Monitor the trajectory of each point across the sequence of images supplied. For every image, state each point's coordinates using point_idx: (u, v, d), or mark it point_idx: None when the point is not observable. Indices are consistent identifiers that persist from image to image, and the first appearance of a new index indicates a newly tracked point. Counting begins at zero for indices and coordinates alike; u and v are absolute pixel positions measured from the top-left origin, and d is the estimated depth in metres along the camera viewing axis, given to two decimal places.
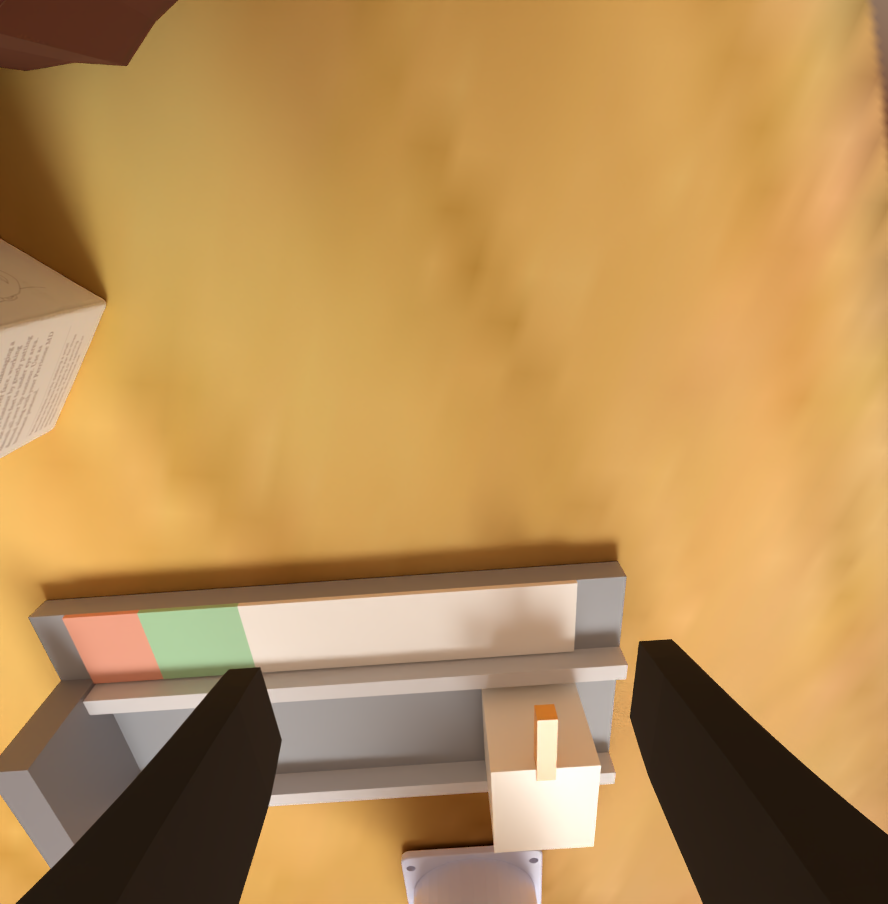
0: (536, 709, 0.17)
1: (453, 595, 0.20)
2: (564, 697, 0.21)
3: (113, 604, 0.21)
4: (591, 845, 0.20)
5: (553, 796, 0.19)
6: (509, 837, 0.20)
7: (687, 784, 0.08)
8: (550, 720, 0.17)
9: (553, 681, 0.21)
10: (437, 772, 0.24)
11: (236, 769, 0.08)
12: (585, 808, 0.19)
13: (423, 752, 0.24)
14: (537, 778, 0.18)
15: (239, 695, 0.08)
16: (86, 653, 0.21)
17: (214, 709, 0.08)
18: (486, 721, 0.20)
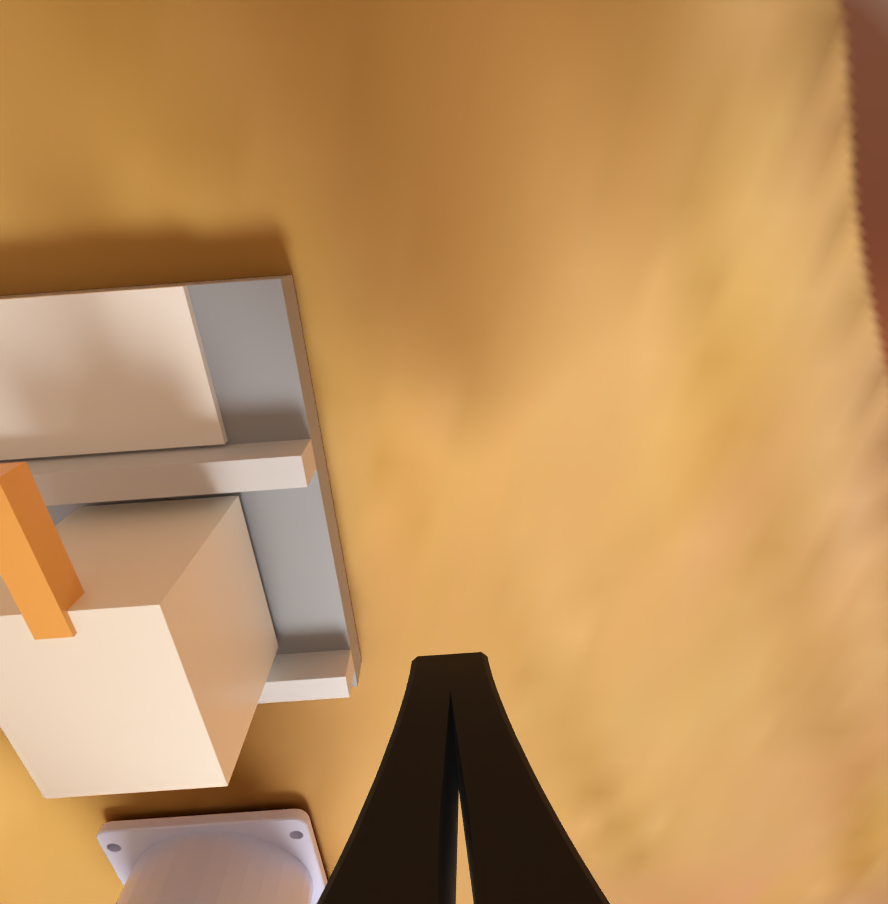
0: None
1: None
2: (194, 519, 0.12)
3: None
4: (222, 783, 0.11)
5: (98, 679, 0.10)
6: (56, 767, 0.11)
7: (463, 799, 0.08)
8: None
9: (175, 491, 0.12)
10: None
11: (451, 755, 0.08)
12: (173, 705, 0.10)
13: None
14: (42, 635, 0.09)
15: (446, 681, 0.08)
16: None
17: (428, 695, 0.08)
18: None
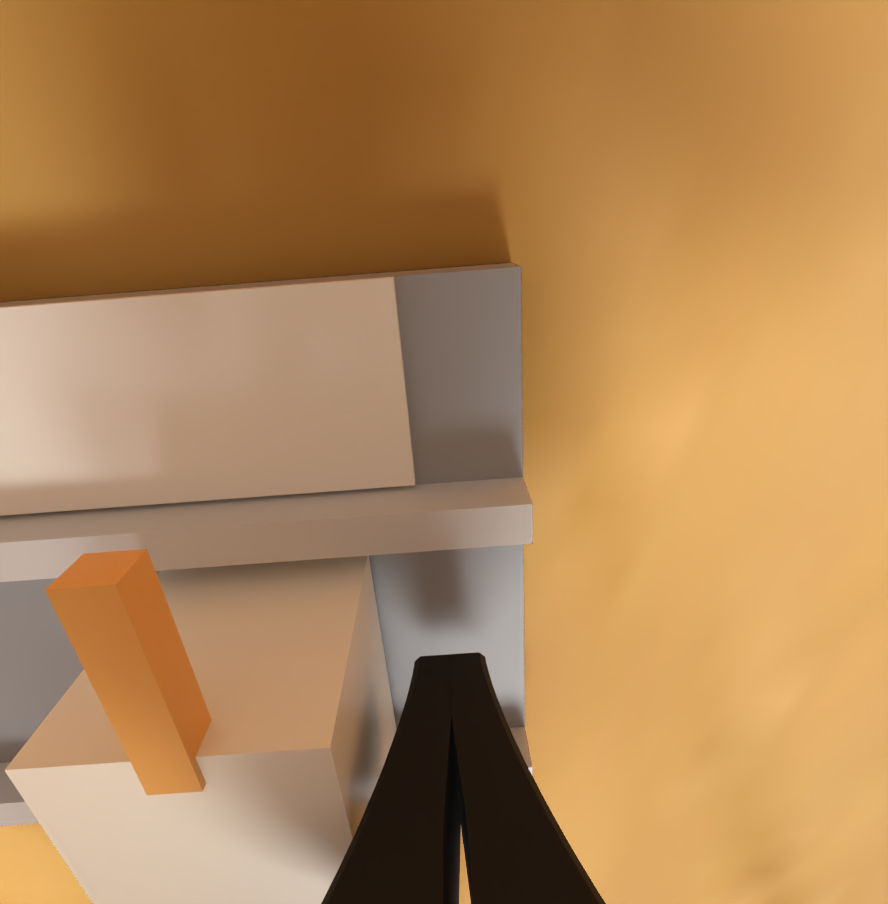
0: (77, 563, 0.05)
1: (79, 315, 0.08)
2: (325, 591, 0.09)
3: None
4: None
5: (227, 837, 0.07)
6: None
7: (460, 799, 0.08)
8: (89, 591, 0.05)
9: (358, 549, 0.09)
10: None
11: (454, 755, 0.08)
12: (327, 866, 0.07)
13: None
14: (156, 787, 0.06)
15: (449, 681, 0.08)
16: None
17: (431, 694, 0.08)
18: None
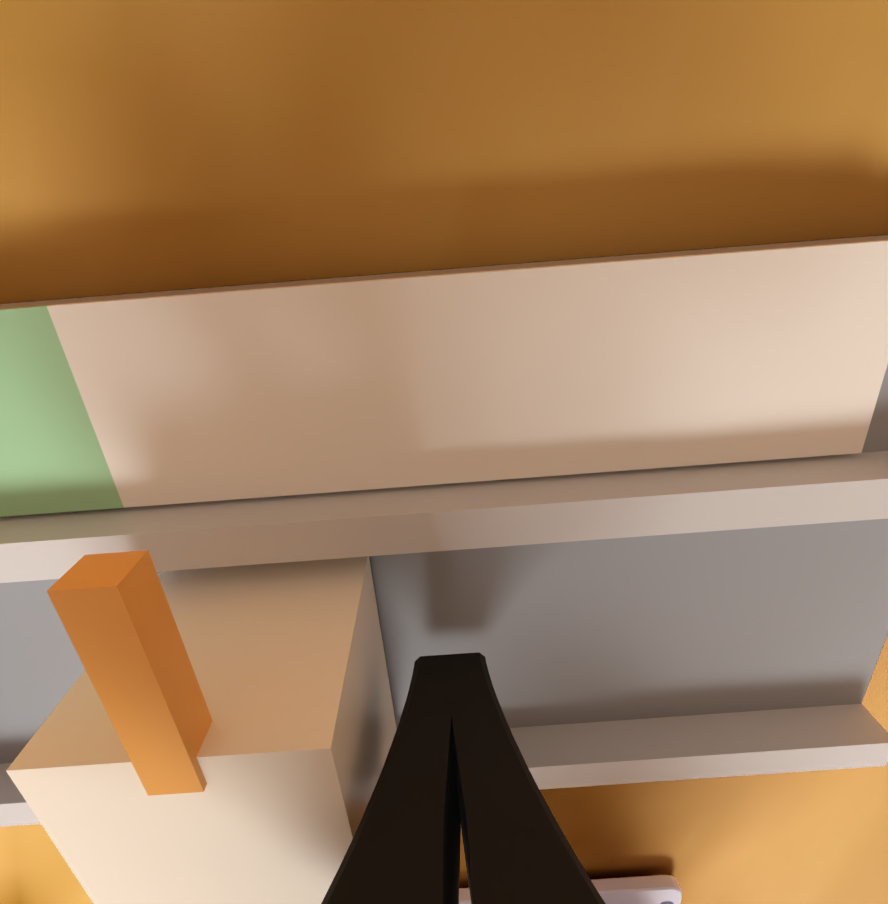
0: (78, 563, 0.05)
1: (601, 276, 0.08)
2: (325, 592, 0.09)
3: None
4: None
5: (228, 837, 0.07)
6: None
7: (459, 799, 0.08)
8: (90, 592, 0.05)
9: (825, 515, 0.09)
10: (520, 744, 0.12)
11: (454, 754, 0.08)
12: (327, 867, 0.07)
13: None
14: (156, 787, 0.06)
15: (449, 681, 0.08)
16: None
17: (431, 694, 0.08)
18: None
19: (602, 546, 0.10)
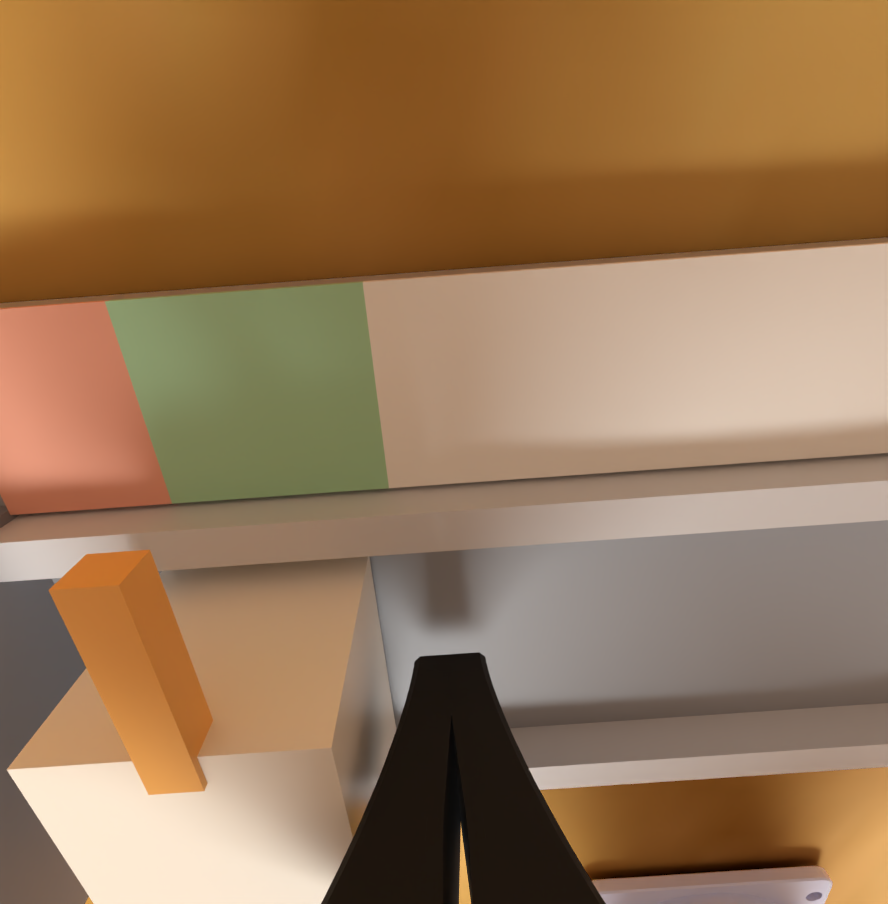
0: (80, 563, 0.05)
1: None
2: (325, 592, 0.09)
3: (49, 302, 0.08)
4: None
5: (227, 837, 0.07)
6: None
7: (460, 799, 0.08)
8: (92, 591, 0.05)
9: None
10: (727, 731, 0.12)
11: (454, 754, 0.08)
12: (327, 866, 0.07)
13: (697, 690, 0.12)
14: (157, 788, 0.06)
15: (449, 681, 0.08)
16: None
17: (431, 694, 0.08)
18: None
19: (845, 530, 0.10)
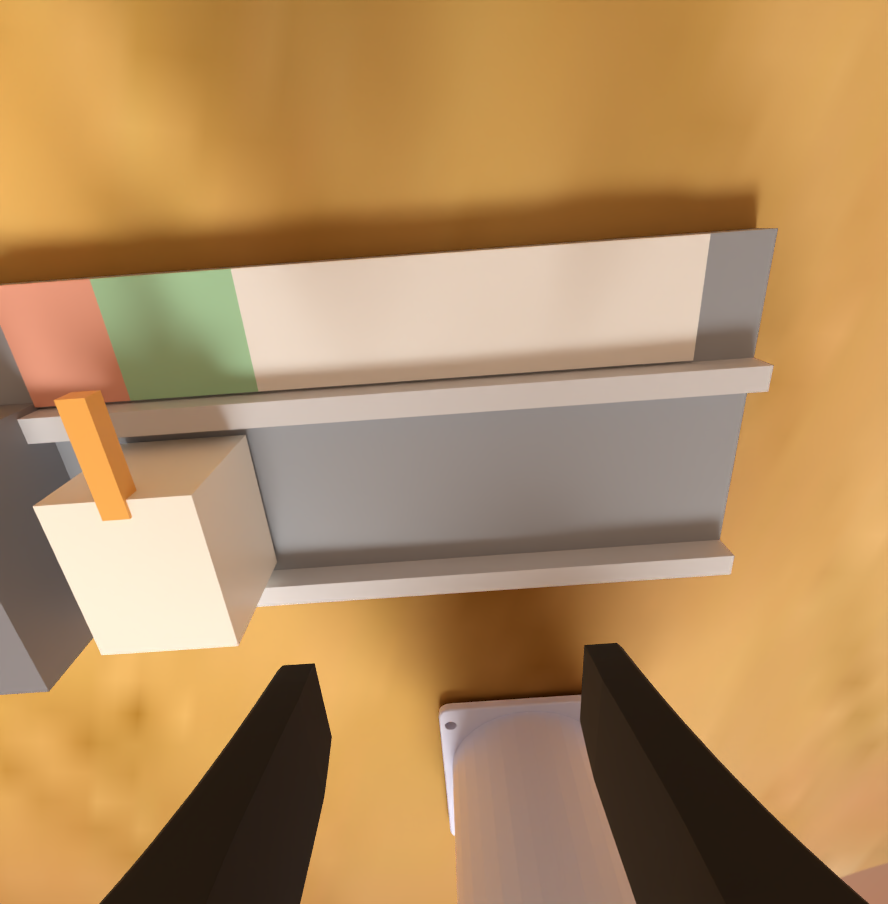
0: (68, 394, 0.12)
1: (535, 253, 0.14)
2: (213, 449, 0.15)
3: (58, 280, 0.15)
4: (234, 643, 0.15)
5: (145, 554, 0.13)
6: (111, 627, 0.14)
7: (622, 788, 0.08)
8: (73, 400, 0.11)
9: (668, 394, 0.15)
10: (495, 562, 0.18)
11: (297, 765, 0.08)
12: (199, 576, 0.14)
13: (477, 536, 0.18)
14: (107, 519, 0.13)
15: (298, 691, 0.08)
16: (22, 352, 0.15)
17: (275, 705, 0.08)
18: None
19: (544, 422, 0.16)
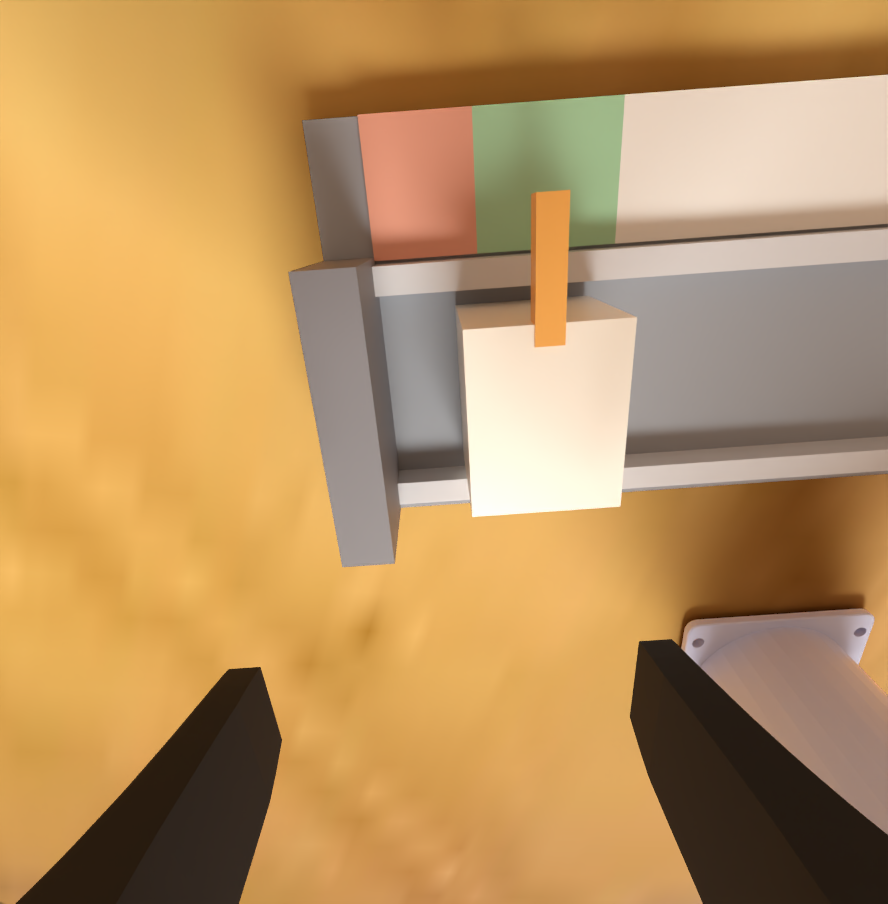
0: (534, 193, 0.11)
1: None
2: (576, 302, 0.14)
3: None
4: (617, 503, 0.13)
5: (562, 391, 0.12)
6: (494, 483, 0.13)
7: (686, 784, 0.08)
8: (556, 193, 0.10)
9: None
10: (813, 447, 0.17)
11: (236, 769, 0.08)
12: (610, 419, 0.12)
13: (792, 420, 0.17)
14: (536, 346, 0.12)
15: (239, 695, 0.08)
16: (377, 193, 0.14)
17: (214, 709, 0.08)
18: (460, 315, 0.13)
19: None
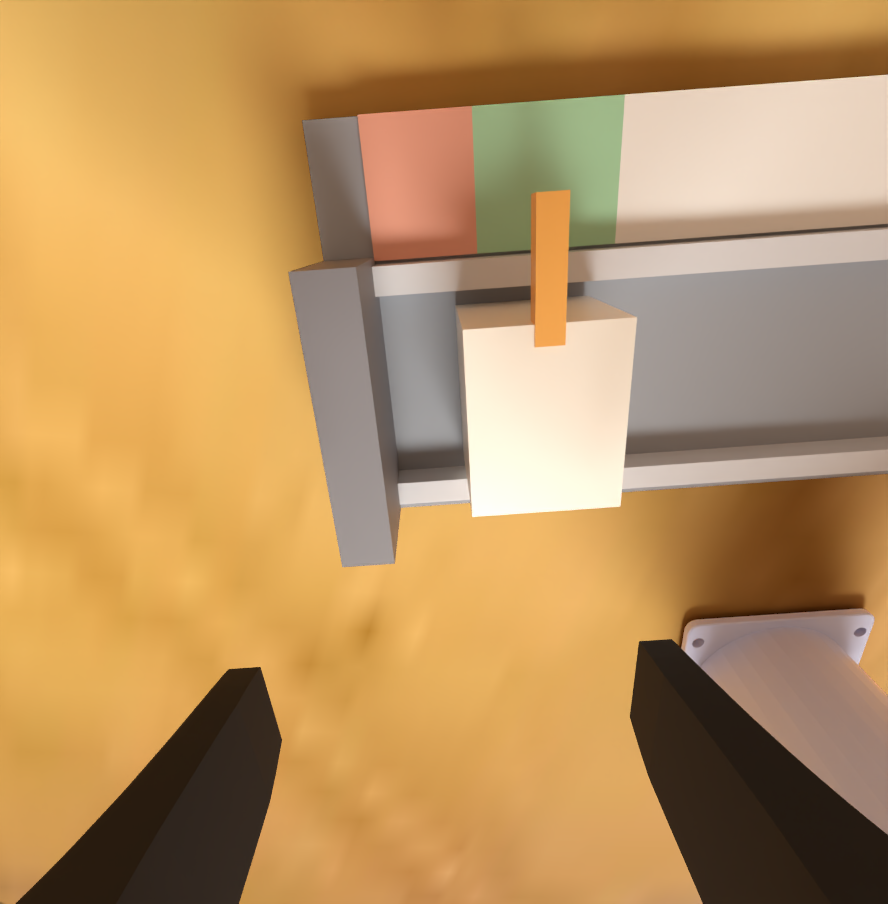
0: (534, 193, 0.11)
1: None
2: (576, 302, 0.14)
3: None
4: (617, 503, 0.13)
5: (562, 391, 0.12)
6: (494, 483, 0.13)
7: (686, 784, 0.08)
8: (556, 193, 0.10)
9: None
10: (813, 447, 0.17)
11: (236, 769, 0.08)
12: (610, 419, 0.12)
13: (792, 420, 0.17)
14: (536, 346, 0.12)
15: (239, 695, 0.08)
16: (377, 193, 0.14)
17: (214, 709, 0.08)
18: (460, 315, 0.13)
19: None
